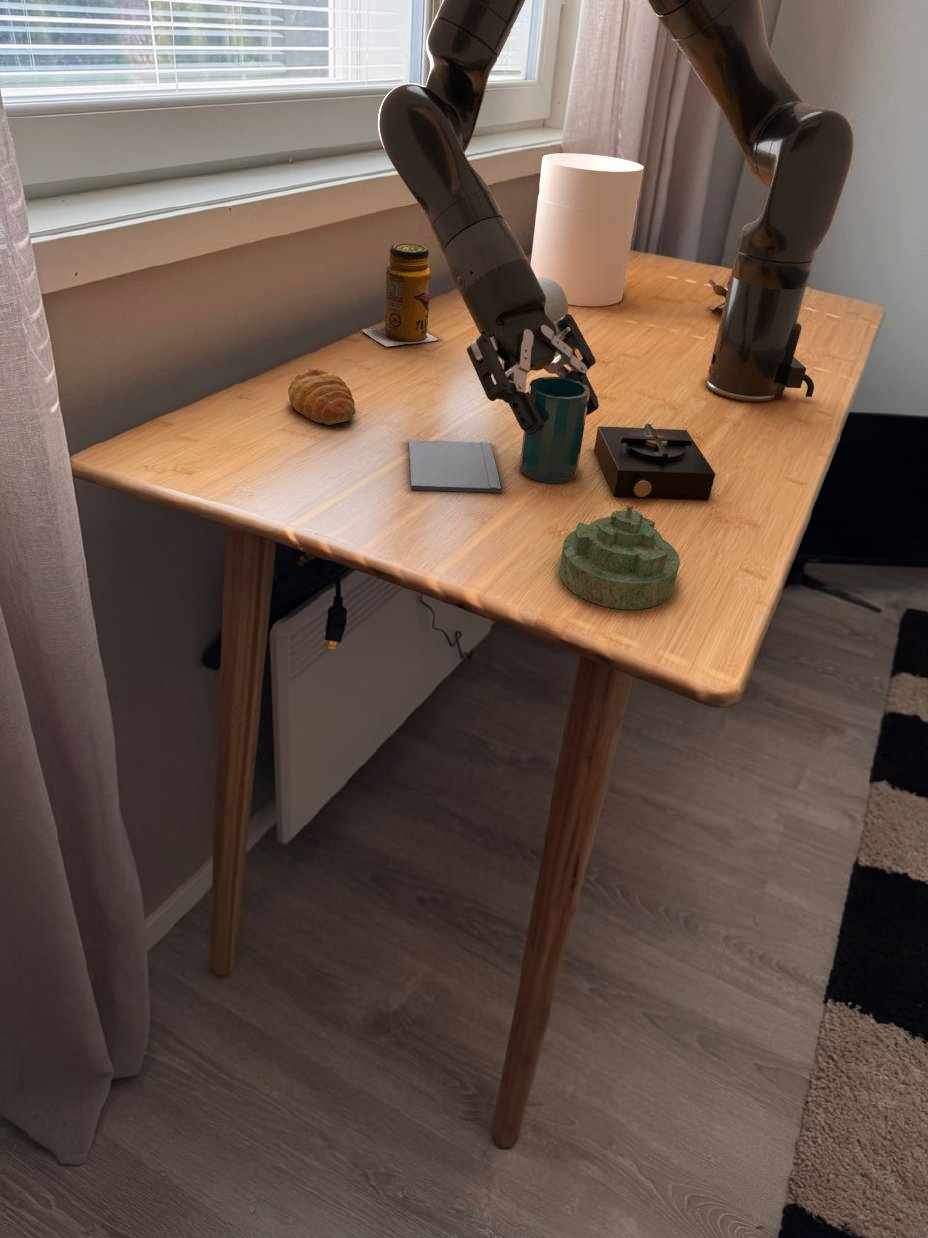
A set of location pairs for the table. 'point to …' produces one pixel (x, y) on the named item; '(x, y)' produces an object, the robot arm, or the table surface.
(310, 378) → the pastry
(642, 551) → the decorative artifact
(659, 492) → the stove
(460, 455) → the grey notebook
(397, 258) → the condiment
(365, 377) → the table surface
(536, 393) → the dark teal cup
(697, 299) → the table surface
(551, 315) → the ceramic mug
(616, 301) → the canister
